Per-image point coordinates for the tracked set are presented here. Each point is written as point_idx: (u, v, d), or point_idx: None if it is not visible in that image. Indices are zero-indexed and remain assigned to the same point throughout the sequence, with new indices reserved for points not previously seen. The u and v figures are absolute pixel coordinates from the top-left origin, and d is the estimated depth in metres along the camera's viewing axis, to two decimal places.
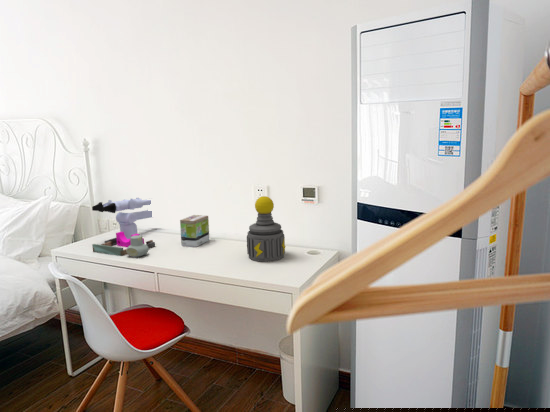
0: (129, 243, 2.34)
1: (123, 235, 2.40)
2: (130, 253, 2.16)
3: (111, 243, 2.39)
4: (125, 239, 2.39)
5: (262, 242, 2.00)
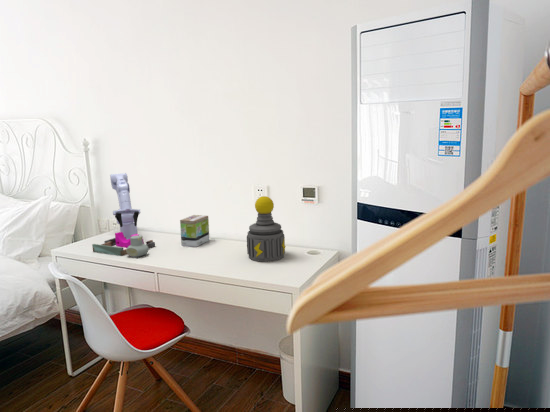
0: (128, 243, 2.33)
1: (122, 235, 2.39)
2: (130, 253, 2.16)
3: (111, 243, 2.39)
4: (124, 239, 2.38)
5: (262, 242, 2.00)
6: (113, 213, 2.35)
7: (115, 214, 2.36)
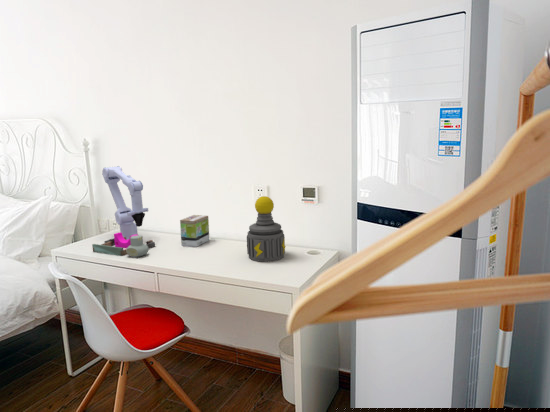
0: (128, 244, 2.32)
1: (121, 236, 2.38)
2: (130, 253, 2.16)
3: (111, 243, 2.39)
4: (123, 240, 2.37)
5: (262, 242, 2.00)
6: (128, 215, 2.36)
7: (129, 215, 2.37)
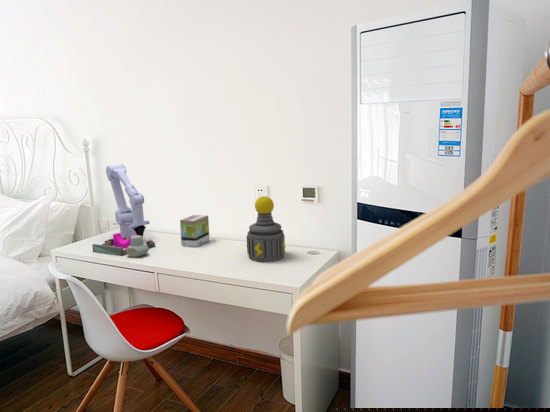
0: (127, 244, 2.32)
1: (120, 236, 2.37)
2: (130, 253, 2.16)
3: (111, 243, 2.39)
4: (122, 240, 2.36)
5: (262, 242, 2.00)
6: (130, 228, 2.37)
7: (131, 228, 2.39)
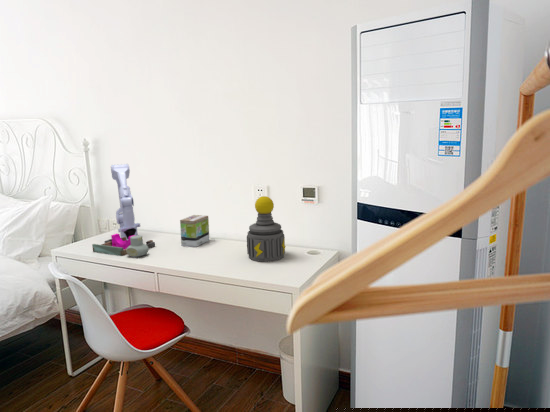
0: (126, 245, 2.30)
1: (119, 237, 2.36)
2: (130, 253, 2.16)
3: (111, 243, 2.39)
4: (121, 241, 2.35)
5: (262, 242, 2.00)
6: (120, 231, 2.31)
7: (121, 231, 2.32)
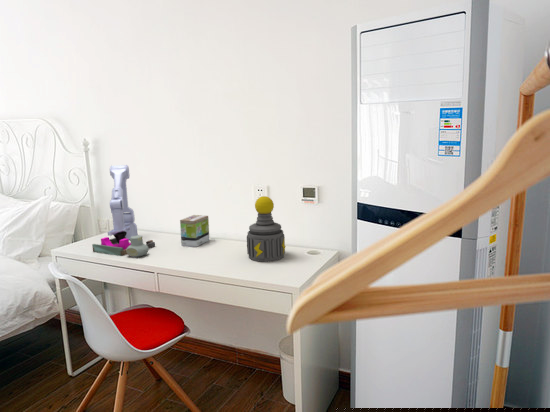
0: None
1: (108, 241, 2.29)
2: (130, 253, 2.16)
3: None
4: (111, 245, 2.28)
5: (262, 242, 2.00)
6: (109, 234, 2.25)
7: None
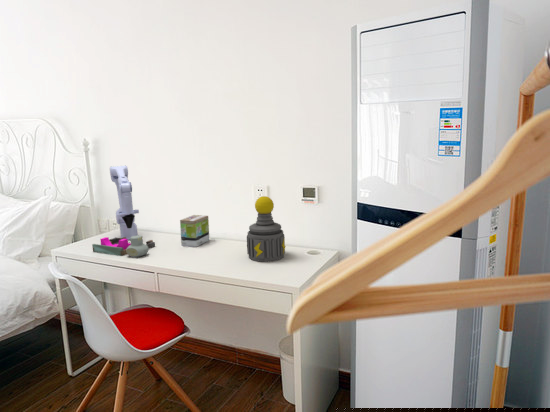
0: None
1: (108, 241, 2.29)
2: (130, 253, 2.16)
3: (111, 243, 2.39)
4: (111, 245, 2.28)
5: (262, 242, 2.00)
6: (118, 217, 2.32)
7: (119, 217, 2.33)
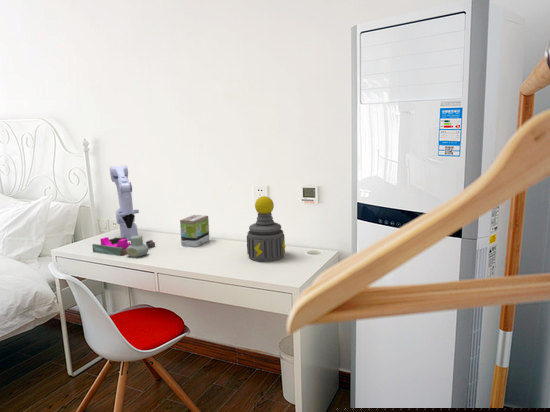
0: None
1: (108, 241, 2.29)
2: (130, 253, 2.16)
3: (111, 243, 2.39)
4: (110, 245, 2.28)
5: (262, 242, 2.00)
6: (118, 217, 2.32)
7: (119, 217, 2.33)
